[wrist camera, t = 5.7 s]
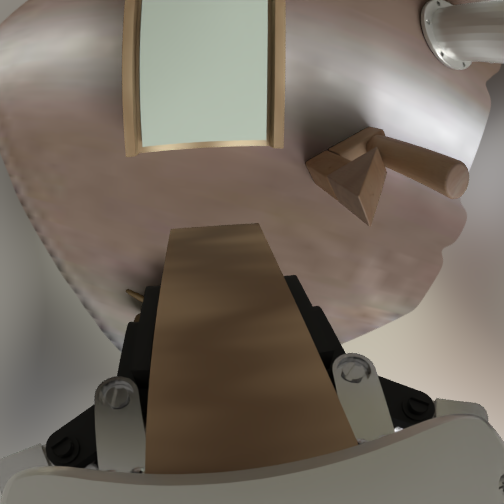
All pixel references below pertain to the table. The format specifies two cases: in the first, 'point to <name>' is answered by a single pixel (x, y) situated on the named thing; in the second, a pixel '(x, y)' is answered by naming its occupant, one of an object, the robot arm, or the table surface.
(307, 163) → the wooden block
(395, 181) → the table surface
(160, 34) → the lid
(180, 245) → the wooden square column
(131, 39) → the wooden box
